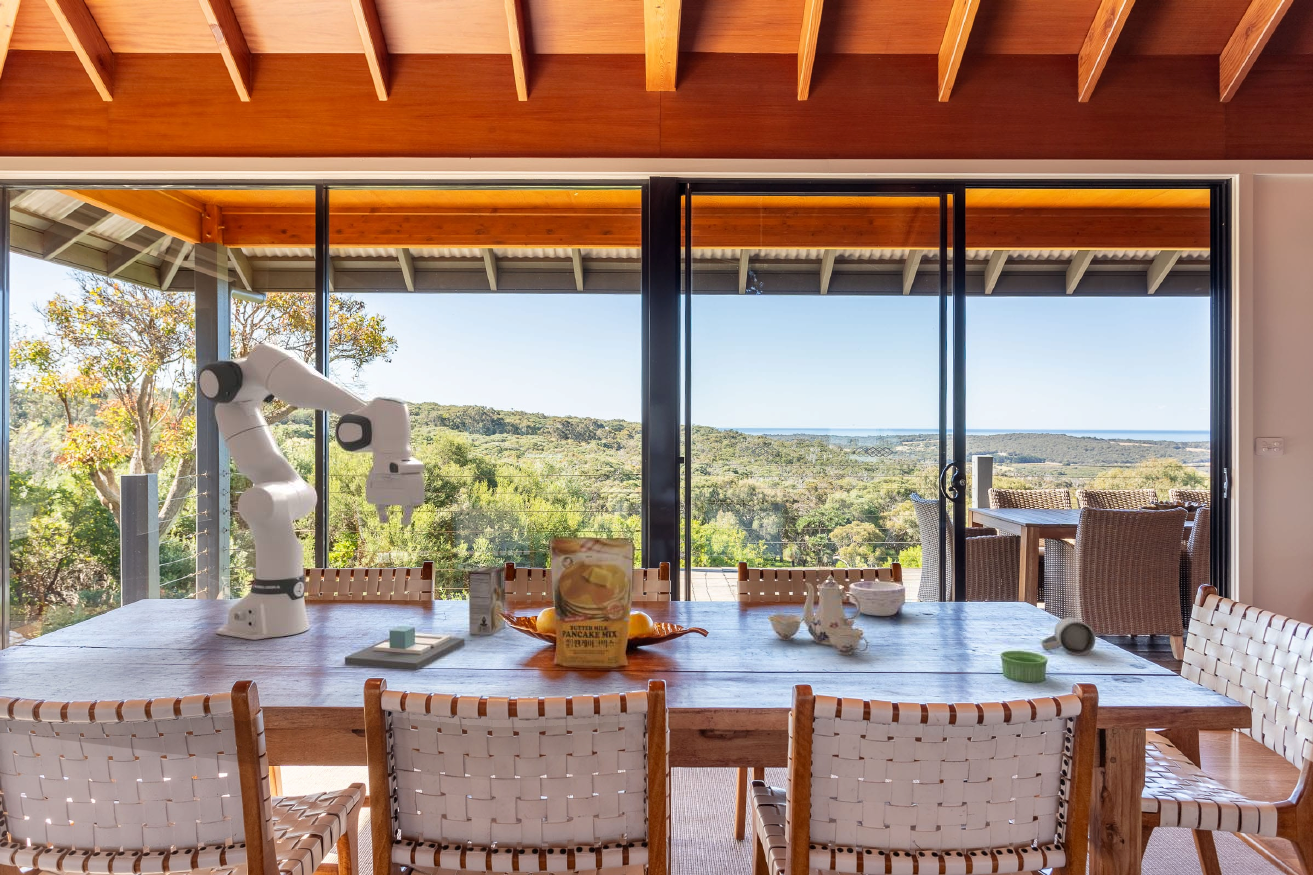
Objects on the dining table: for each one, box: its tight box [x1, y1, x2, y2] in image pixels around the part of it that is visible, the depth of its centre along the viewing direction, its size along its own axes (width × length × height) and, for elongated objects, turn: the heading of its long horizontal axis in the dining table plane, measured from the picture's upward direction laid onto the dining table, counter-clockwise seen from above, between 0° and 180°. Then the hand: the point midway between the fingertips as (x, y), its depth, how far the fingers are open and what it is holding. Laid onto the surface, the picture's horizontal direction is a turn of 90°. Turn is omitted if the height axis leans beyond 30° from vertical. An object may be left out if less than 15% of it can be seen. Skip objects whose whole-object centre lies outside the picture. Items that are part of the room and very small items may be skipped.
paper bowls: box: [849, 581, 906, 617], centre depth 224 cm, size 15×15×8 cm
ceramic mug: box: [1040, 617, 1096, 656], centre depth 185 cm, size 11×8×8 cm
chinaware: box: [767, 574, 869, 656], centre depth 192 cm, size 28×17×17 cm, turn 47°
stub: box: [374, 625, 431, 654], centre depth 181 cm, size 12×4×5 cm, turn 75°
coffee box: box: [468, 565, 506, 636], centre depth 205 cm, size 9×6×16 cm
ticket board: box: [344, 632, 466, 671], centre depth 183 cm, size 18×21×2 cm
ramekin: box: [1000, 650, 1049, 684], centre depth 165 cm, size 9×9×4 cm
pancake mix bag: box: [548, 536, 636, 669], centre depth 175 cm, size 7×19×28 cm, turn 85°
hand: (395, 524), depth 186 cm, fingers open, 8 cm apart
